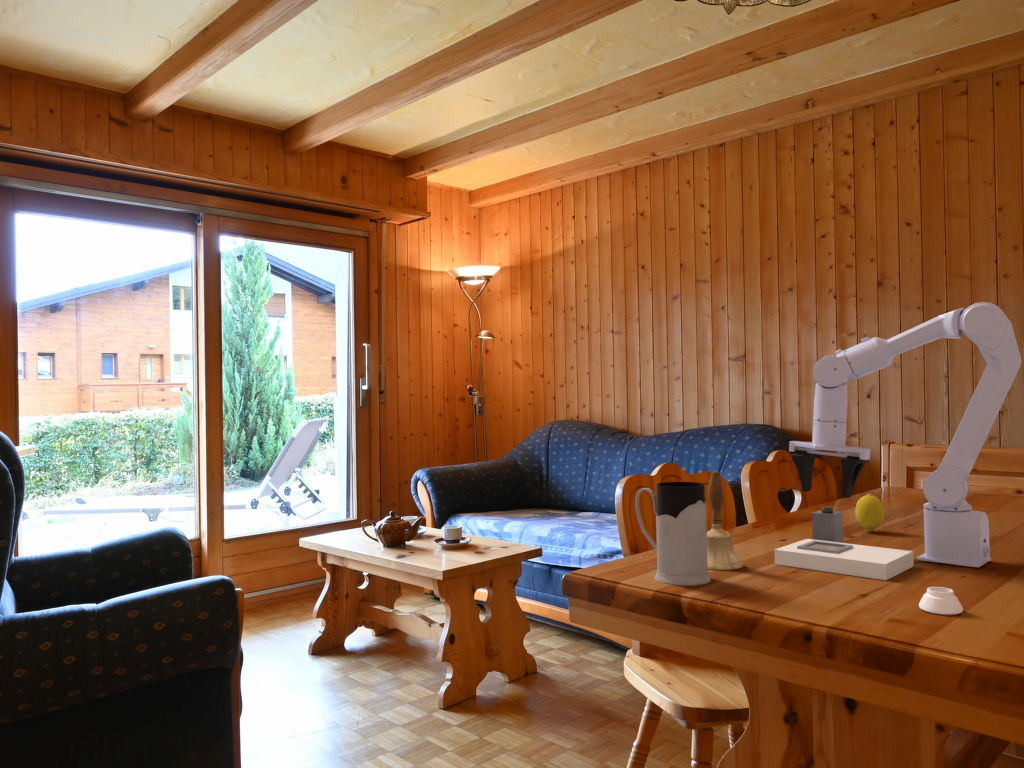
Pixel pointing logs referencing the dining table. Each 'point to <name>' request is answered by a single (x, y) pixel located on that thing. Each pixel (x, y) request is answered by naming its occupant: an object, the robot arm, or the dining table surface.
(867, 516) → the lemon
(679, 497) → the glass holder
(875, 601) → the dining table surface
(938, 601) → the white upside-down bowl
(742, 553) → the dining table surface
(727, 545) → the hand bell
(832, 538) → the plug
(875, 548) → the socket board
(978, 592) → the dining table surface
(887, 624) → the dining table surface
